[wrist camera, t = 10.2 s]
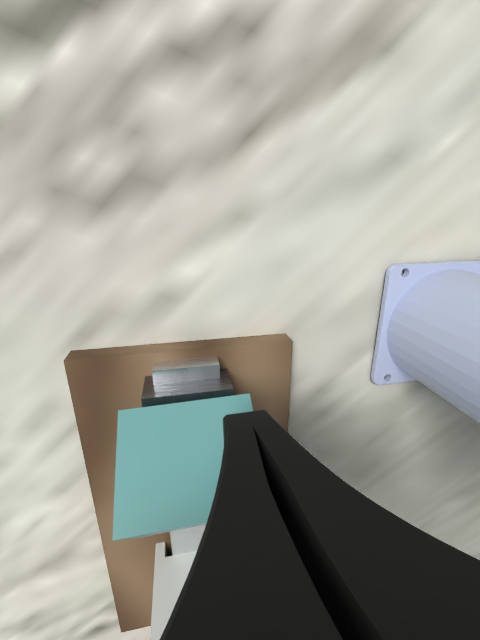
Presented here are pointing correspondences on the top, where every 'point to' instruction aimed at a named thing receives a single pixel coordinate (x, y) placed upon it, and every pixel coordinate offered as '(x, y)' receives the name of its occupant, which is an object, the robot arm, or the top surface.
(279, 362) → the mounting board
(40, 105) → the top surface
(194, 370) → the steel rail
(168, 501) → the teal module
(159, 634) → the grey module
